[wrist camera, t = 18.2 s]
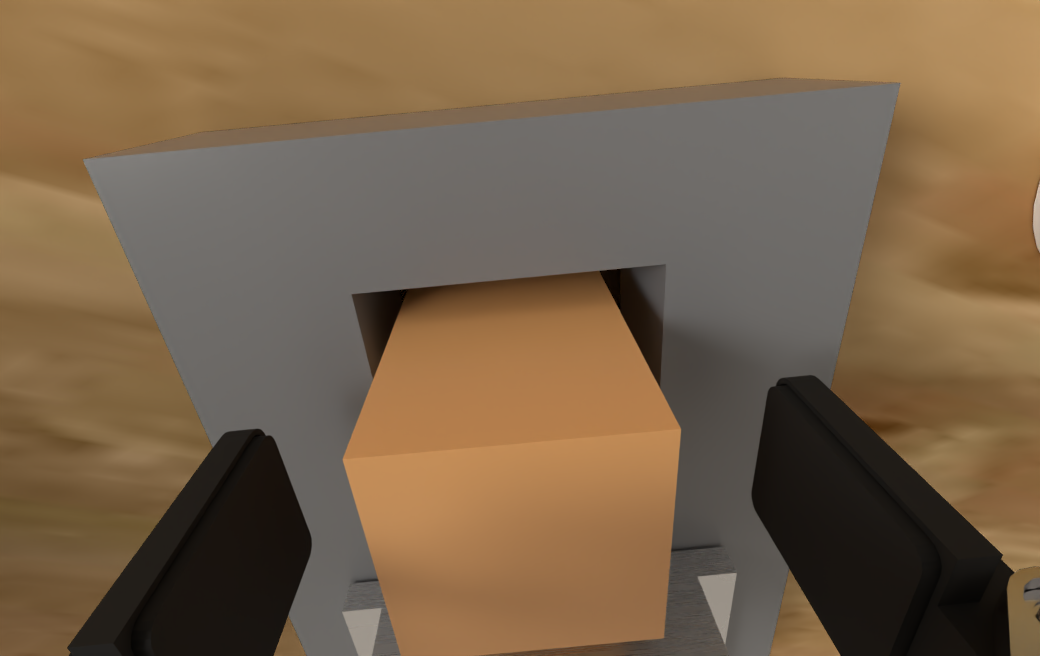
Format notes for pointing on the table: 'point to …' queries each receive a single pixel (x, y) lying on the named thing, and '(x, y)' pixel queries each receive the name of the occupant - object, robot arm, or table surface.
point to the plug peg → (516, 471)
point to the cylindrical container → (1037, 218)
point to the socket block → (512, 275)
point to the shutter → (682, 652)
